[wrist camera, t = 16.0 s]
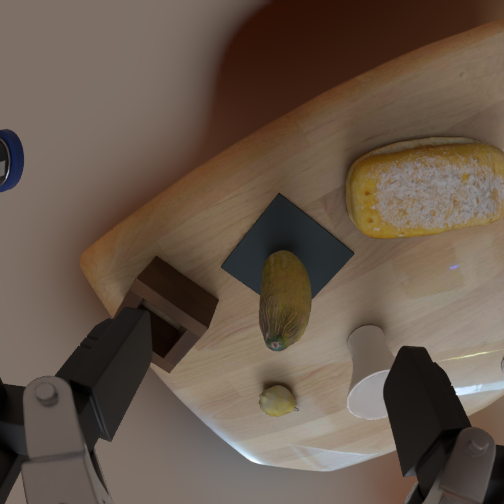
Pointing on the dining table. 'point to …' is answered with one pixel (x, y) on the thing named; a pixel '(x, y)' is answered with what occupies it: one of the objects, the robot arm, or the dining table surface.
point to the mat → (287, 246)
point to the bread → (425, 187)
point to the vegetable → (284, 300)
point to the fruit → (277, 401)
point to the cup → (368, 372)
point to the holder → (171, 311)
